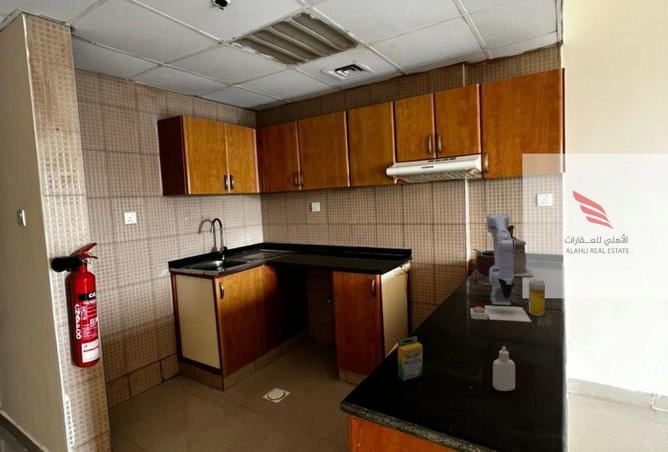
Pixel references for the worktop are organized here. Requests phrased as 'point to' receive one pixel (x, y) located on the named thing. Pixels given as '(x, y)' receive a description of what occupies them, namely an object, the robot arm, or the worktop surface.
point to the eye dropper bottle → (503, 372)
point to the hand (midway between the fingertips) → (505, 296)
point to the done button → (478, 310)
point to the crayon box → (410, 359)
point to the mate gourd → (484, 265)
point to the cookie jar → (519, 257)
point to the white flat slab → (507, 313)
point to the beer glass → (536, 297)
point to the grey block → (500, 297)
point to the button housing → (479, 314)
